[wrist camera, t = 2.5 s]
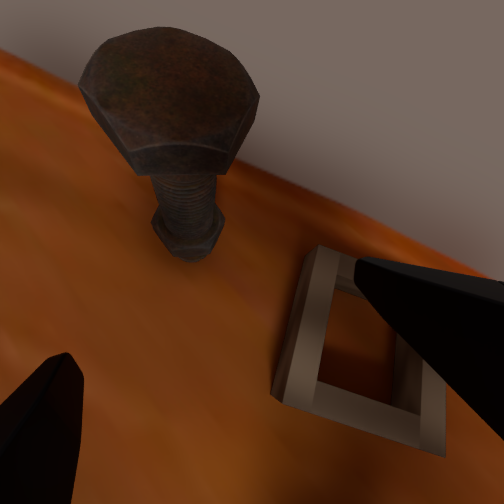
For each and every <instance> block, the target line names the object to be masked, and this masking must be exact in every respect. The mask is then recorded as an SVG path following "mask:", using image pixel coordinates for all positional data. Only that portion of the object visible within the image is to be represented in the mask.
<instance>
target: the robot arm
mask: <svg viewBox="0 0 504 504" xmlns="http://www.w3.org/2000/svg"><path fill="white" fill-rule="evenodd" d="M353 280H354V283H355V285H356V287H357V288H358V289H359V290H360V291H361V293H362V294H363V295H364V296H365V298H366V299H367V300H368V301H369V302H370V304H371V305H372V306H373V307H374V308H375V310H376V311H377V312H378V313H379V314H380V316H381V317H382V318H383V319H384V320H385V321H386V322H387V323H388V324H389V325H390V326H391V327H392V328H393V329H394V330H395V331H396V332H397V333H398V334H399V335H400V336H401V337H402V338H403V339H404V340H405V341H406V342H407V343H408V344H409V345H410V346H411V347H412V349H413V350H414V351H415V352H416V353H417V354H418V355H419V356H420V357H421V358H422V359H423V360H424V361H425V362H426V363H427V364H428V365H429V366H430V367H431V368H432V369H433V370H434V371H435V372H436V373H437V374H438V375H439V376H440V377H441V378H442V379H443V380H444V381H445V382H446V383H447V384H448V385H449V386H450V387H451V388H452V389H453V390H454V391H455V392H456V393H457V394H458V395H459V396H460V397H461V398H462V399H463V400H464V401H465V402H466V403H467V404H468V405H469V406H470V407H471V408H472V409H473V410H474V411H475V412H476V413H477V414H478V415H479V416H480V417H481V418H482V419H483V420H484V421H485V422H486V423H487V424H488V425H489V426H490V427H491V428H492V429H493V430H494V431H495V432H496V433H497V434H498V435H499V436H500V437H501V438H502V439H503V440H504V282H502V281H498V282H497V281H496V280H491V279H486V278H481V277H475V276H470V275H464V274H459V273H454V272H448V271H443V270H438V269H432V268H427V267H422V266H416V265H411V264H405V263H400V262H395V261H389V260H384V259H379V258H373V257H363V258H360V259H358V260H357V261H356V262H355V269H354V277H353ZM83 393H84V376H83V373H82V371H81V370H80V368H79V366H78V365H77V363H76V362H75V360H74V359H73V357H72V356H71V354H69V353H66V352H65V353H61V354H58V355H55V356H52V357H49V358H48V359H46V360H45V361H44V362H43V363H42V364H41V365H40V366H39V367H38V368H37V369H36V370H35V371H34V372H33V373H32V374H31V375H30V376H29V377H28V378H27V379H26V380H25V381H24V382H23V383H22V384H21V385H20V386H19V387H18V388H17V389H16V390H15V391H14V392H13V393H12V394H11V395H10V396H9V397H8V398H7V399H6V400H5V401H4V402H3V403H2V404H1V405H0V504H71V500H72V494H73V488H74V482H75V476H76V470H77V464H78V457H79V451H80V444H81V432H82V412H83Z"/></svg>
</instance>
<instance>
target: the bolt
mask: <svg viewBox="0 0 504 504" xmlns="http://www.w3.org/2000/svg"><path fill="white" fill-rule="evenodd" d="M78 87H79V89H80V91H81V93H82V95H83V97H84V99H85V102H86V104H87V106H88V108H89V110H90V112H91V114H92V116H93V117H94V118H95V120H96V121H97V122H98V124H99V125H100V126H101V128H102V129H103V130H104V132H105V133H106V134H107V136H108V137H109V138H110V140H111V141H112V142H113V144H114V145H115V146H116V148H117V149H118V150H119V152H120V153H121V154H122V156H123V157H124V158H125V160H126V161H127V162H128V164H129V165H130V166H131V168H132V169H133V170H134V172H135V173H136V174H137V176H150V177H151V181H152V184H153V187H154V191H155V194H156V196H157V200H158V203H159V206H158V208H157V210H156V212H155V214H154V216H153V218H152V221H151V224H152V227H153V229H154V230H155V232H156V233H157V235H158V236H159V238H160V239H161V241H162V242H163V244H164V245H165V246H166V248H167V249H168V250H169V252H170V253H171V254H172V255H173V256H174V257H179V258H180V259H182V260H183V261H186V262H197V261H200V260H199V259H201V258H202V259H203V258H204V257H205V256H206V255H207V254H210V253H211V251H212V249H213V248H214V246H215V244H216V242H217V240H218V237H219V235H220V233H221V231H222V229H223V226H224V222H225V217H224V216H223V214H222V212H221V211H220V209H219V208H218V206H217V205H216V204H215V193H216V179H217V177H216V175H226V173H227V171H228V169H229V167H230V165H231V164H232V162H233V160H234V158H235V156H236V154H237V152H238V150H239V149H240V147H241V145H242V143H243V141H244V139H245V137H246V135H247V134H248V132H249V130H250V128H251V126H252V124H253V123H254V120H255V116H256V111H257V107H258V103H259V98H260V95H259V93H258V91H257V89H256V87H255V85H254V83H253V81H252V79H251V77H250V76H249V75H248V73H247V71H246V70H245V68H244V66H243V65H242V64H241V63H240V61H239V60H238V59H237V58H236V57H235V56H234V55H233V54H232V53H231V52H230V51H228V50H226V49H224V48H223V47H221V46H219V45H217V44H215V43H213V42H211V41H209V40H208V39H206V38H203V37H201V36H198V35H195V34H192V33H190V32H187V31H184V30H181V29H177V28H172V27H154V28H148V29H142V30H136V31H133V32H129V33H126V34H123V35H120V36H117V37H114V38H111V39H108V40H107V41H106V42H104V43H103V44H102V45H101V46H100V47H99V48H98V49H97V50H96V51H95V52H94V54H93V55H92V57H91V58H90V60H89V62H88V63H87V65H86V67H85V69H84V71H83V74H82V76H81V78H80V81H79V83H78Z"/></svg>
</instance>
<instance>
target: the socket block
mask: <svg viewBox="0 0 504 504" xmlns="http://www.w3.org/2000/svg"><path fill="white" fill-rule="evenodd" d="M357 260H358V259H356V258H354V257H351V256H348V255H346V254H343V253H340V252H338V251H335V250H333V249H330V248H327V247H325V246H322V245H317V246H316V247H315V248H314V249H313V250H311V251H310V252H309V253H308V254H307V255H305V258H304V262H303V266H302V270H301V274H300V278H299V282H298V286H297V290H296V294H295V298H294V302H293V306H292V310H291V314H290V318H289V322H288V326H287V330H286V334H285V338H284V342H283V346H282V350H281V354H280V358H279V362H278V366H277V370H276V374H275V378H274V382H273V386H272V390H271V394H270V395H272V396H273V397H274V398H275V399H277V400H278V401H279V402H281V403H282V404H285V405H288V406H291V407H294V408H297V409H300V410H303V411H306V412H309V413H312V414H315V415H318V416H321V417H324V418H327V419H330V420H333V421H336V422H339V423H342V424H345V425H348V426H351V427H354V428H357V429H360V430H363V431H366V432H369V433H372V434H375V435H378V436H381V437H384V438H387V439H390V440H393V441H396V442H399V443H402V444H405V445H408V446H411V447H414V448H417V449H420V450H423V451H426V452H429V453H432V454H435V455H438V456H441V457H444V458H445V457H446V382H445V381H444V380H443V379H442V378H441V377H440V376H439V375H438V374H437V373H436V372H435V371H434V370H433V369H432V368H431V367H430V366H429V365H428V364H427V363H426V362H425V361H424V360H423V359H422V358H421V357H420V356H419V355H418V354H417V353H416V352H415V351H414V350H413V349H412V347H411V346H410V345H409V344H408V343H407V342H406V341H405V340H404V339H403V338H402V337H401V336H400V335H399V334H398V333H397V337H396V349H395V361H394V374H393V386H392V398H391V406H390V405H387V404H384V403H381V402H378V401H375V400H372V399H369V398H366V397H364V396H361V395H358V394H355V393H352V392H349V391H346V390H343V389H340V388H337V387H334V386H331V385H328V384H326V383H323V382H320V381H317V376H318V370H319V365H320V360H321V355H322V349H323V344H324V339H325V333H326V328H327V323H328V318H329V312H330V307H331V302H332V296H333V291H334V288H336V289H339V290H342V291H345V292H347V293H350V294H353V295H355V296H358V297H361V298H363V299H366V298H365V296H364V295H363V294H362V293H361V291H360V290H359V289H358V288H357V287H356V285H355V283H354V280H353V277H354V269H355V262H356V261H357ZM366 300H367V299H366Z"/></svg>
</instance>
